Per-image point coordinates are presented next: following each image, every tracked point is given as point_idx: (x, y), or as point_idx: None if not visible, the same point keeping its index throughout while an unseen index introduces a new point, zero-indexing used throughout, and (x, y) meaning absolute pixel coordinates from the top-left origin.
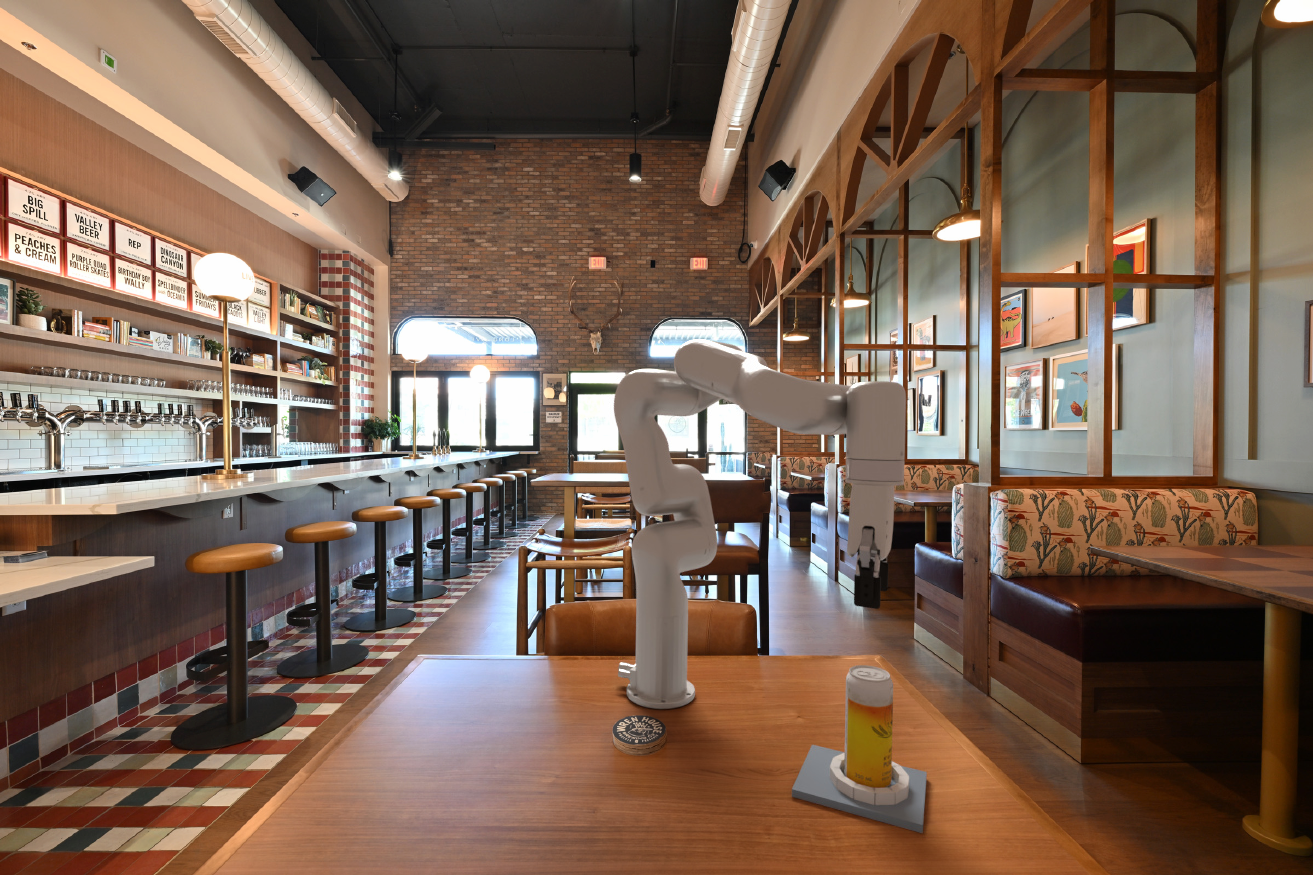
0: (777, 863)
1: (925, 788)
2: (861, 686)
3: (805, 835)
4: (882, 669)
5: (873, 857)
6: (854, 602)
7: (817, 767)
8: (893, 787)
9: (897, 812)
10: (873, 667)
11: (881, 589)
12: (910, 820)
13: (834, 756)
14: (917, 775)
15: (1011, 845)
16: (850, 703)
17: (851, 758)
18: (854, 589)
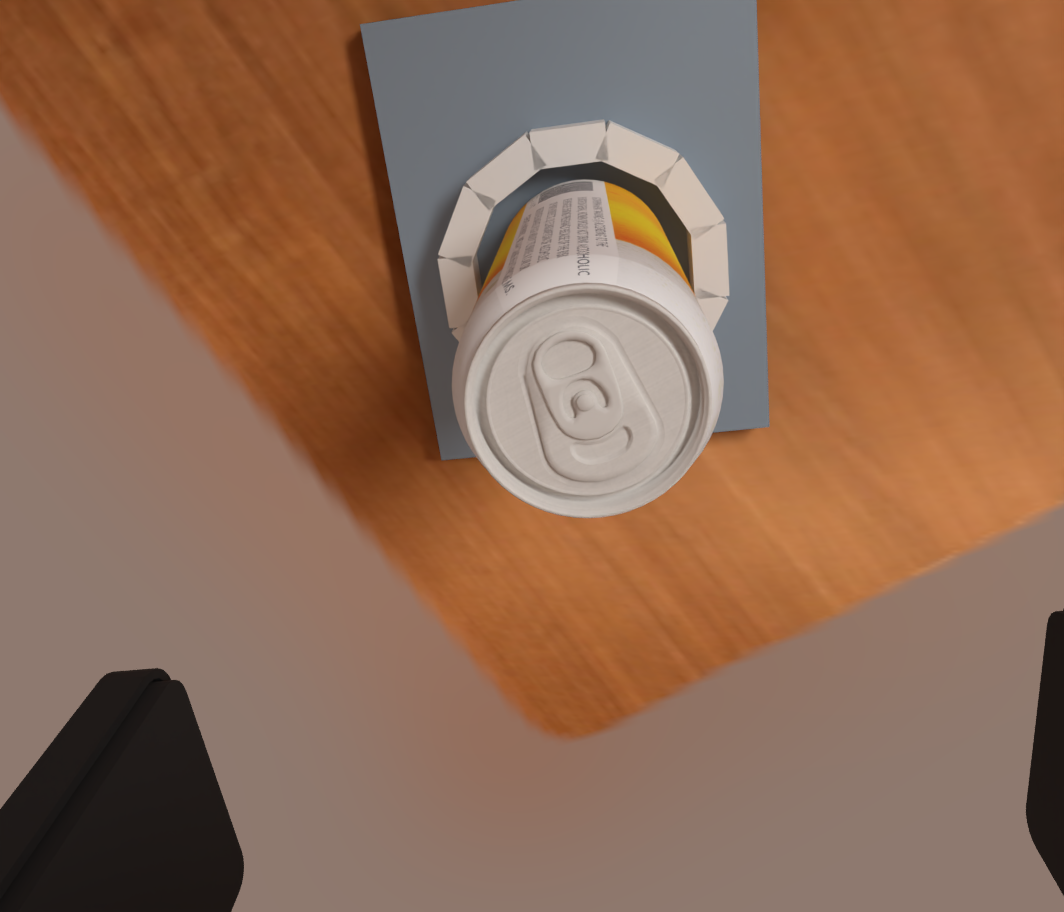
0: (22, 125)
1: None
2: (454, 379)
3: (199, 153)
4: (688, 460)
5: (248, 357)
6: (105, 685)
7: (574, 59)
8: None
9: None
10: (703, 404)
11: (1030, 789)
12: (443, 427)
13: (701, 94)
14: (728, 403)
15: (536, 637)
16: (487, 282)
17: (502, 241)
18: (10, 805)
